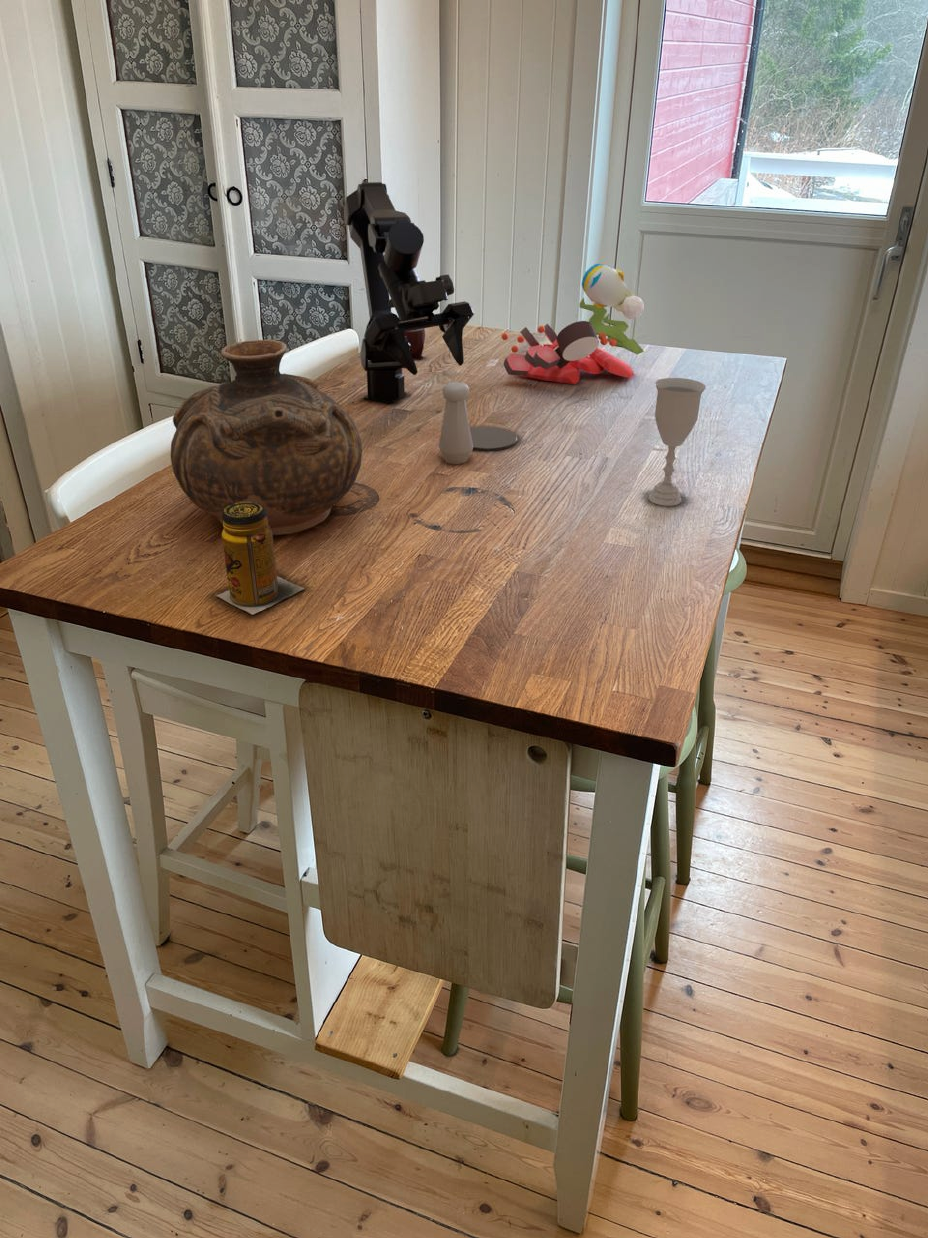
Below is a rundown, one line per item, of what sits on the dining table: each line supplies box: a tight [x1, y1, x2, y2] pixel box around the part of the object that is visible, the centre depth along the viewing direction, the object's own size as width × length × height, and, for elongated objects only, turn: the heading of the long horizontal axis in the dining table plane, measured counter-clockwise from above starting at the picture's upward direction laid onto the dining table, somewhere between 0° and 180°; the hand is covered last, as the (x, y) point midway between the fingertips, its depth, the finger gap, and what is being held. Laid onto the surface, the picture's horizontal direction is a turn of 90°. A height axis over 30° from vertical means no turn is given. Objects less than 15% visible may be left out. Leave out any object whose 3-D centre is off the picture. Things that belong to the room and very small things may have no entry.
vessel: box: [170, 339, 363, 536], centre depth 133 cm, size 27×28×25 cm
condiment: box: [215, 502, 306, 616], centre depth 116 cm, size 7×8×12 cm
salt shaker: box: [438, 381, 473, 465], centre depth 155 cm, size 6×6×13 cm
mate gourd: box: [404, 328, 426, 360], centre depth 207 cm, size 8×8×15 cm
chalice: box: [648, 377, 707, 507], centre depth 141 cm, size 7×7×18 cm
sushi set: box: [501, 263, 645, 385], centre depth 195 cm, size 29×30×24 cm
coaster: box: [470, 425, 518, 452], centre depth 167 cm, size 11×11×1 cm
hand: (439, 368), depth 157 cm, fingers open, 9 cm apart
